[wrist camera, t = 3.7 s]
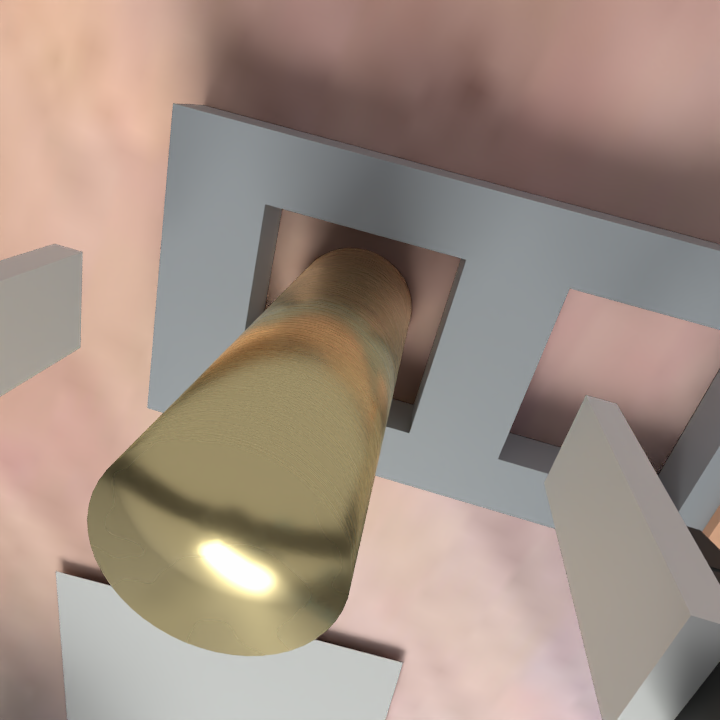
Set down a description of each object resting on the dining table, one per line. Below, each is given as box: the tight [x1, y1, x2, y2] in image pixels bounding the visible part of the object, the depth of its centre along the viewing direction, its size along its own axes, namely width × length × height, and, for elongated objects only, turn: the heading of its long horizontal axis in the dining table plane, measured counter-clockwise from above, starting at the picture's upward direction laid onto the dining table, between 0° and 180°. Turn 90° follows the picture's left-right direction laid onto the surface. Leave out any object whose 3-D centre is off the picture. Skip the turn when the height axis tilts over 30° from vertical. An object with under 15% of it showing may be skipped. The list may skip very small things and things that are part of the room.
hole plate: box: [147, 103, 720, 549], centre depth 17 cm, size 30×10×2 cm, turn 77°
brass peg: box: [87, 248, 411, 656], centre depth 14 cm, size 4×4×12 cm
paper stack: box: [56, 571, 403, 720], centre depth 26 cm, size 23×25×1 cm
